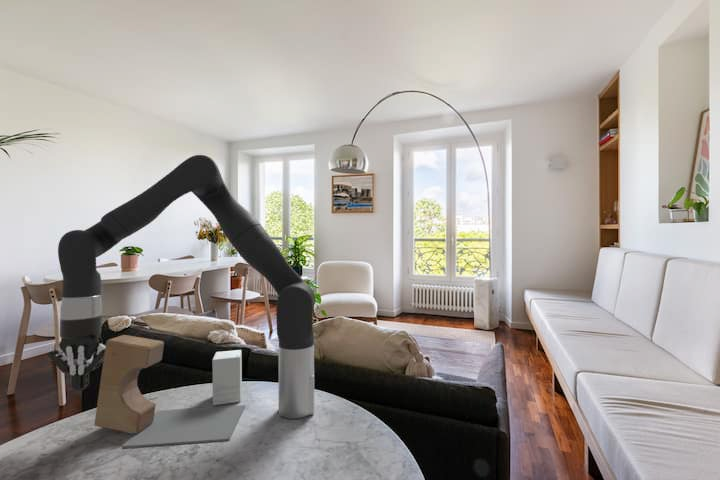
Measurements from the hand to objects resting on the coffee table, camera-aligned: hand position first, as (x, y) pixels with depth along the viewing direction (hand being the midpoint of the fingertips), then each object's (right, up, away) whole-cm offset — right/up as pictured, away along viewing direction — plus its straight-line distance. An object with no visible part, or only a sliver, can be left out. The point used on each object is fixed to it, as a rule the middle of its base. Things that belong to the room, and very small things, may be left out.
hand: (80, 389), depth 78 cm
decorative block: (+10, -9, +1) cm, 13 cm away
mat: (+24, -10, +3) cm, 27 cm away
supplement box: (+28, -11, +17) cm, 34 cm away
